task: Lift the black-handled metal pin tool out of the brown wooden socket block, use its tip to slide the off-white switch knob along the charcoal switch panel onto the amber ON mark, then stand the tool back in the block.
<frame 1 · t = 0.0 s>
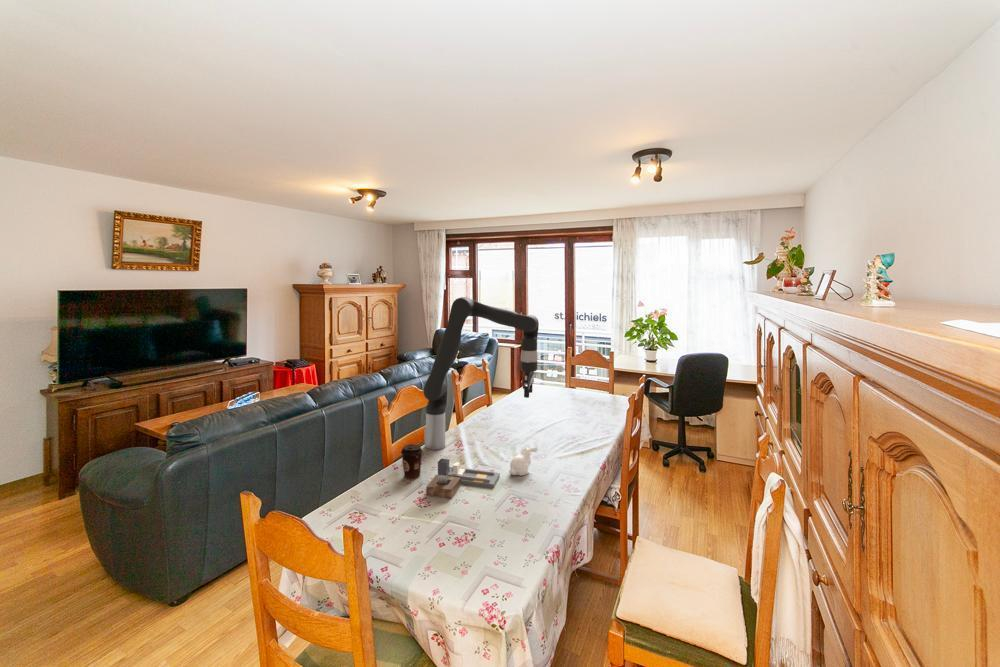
hand: (528, 394, 195), 29 cm above the table, fingers open, 8 cm apart
switch slider: (458, 469, 176), point 4 cm above the table, slide at 0.0 cm
rabbit: (522, 472, 183), on the table
pin tool: (443, 490, 165), resting on brown wooden socket block
brown wooden socket block: (443, 491, 165), on the table
coffee cup: (412, 477, 177), on the table
switch panel: (470, 480, 175), on the table
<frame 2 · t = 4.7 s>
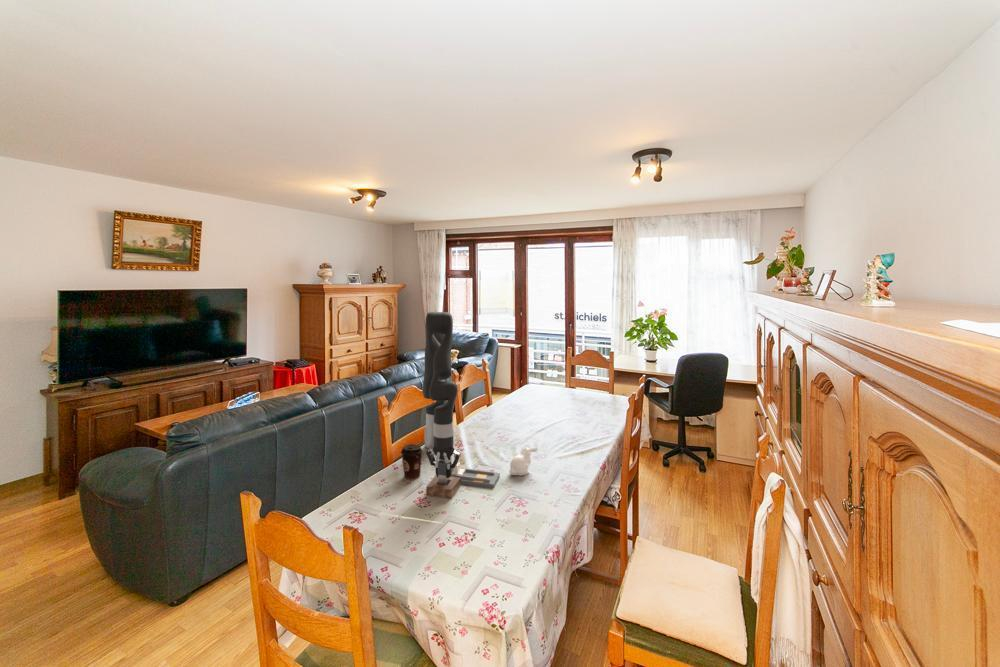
hand: (443, 476, 165), 6 cm above the table, fingers closed on pin tool, 3 cm apart
pin tool: (443, 490, 165), point 1 cm above the table, touching gripper, brown wooden socket block
everything else where it was.
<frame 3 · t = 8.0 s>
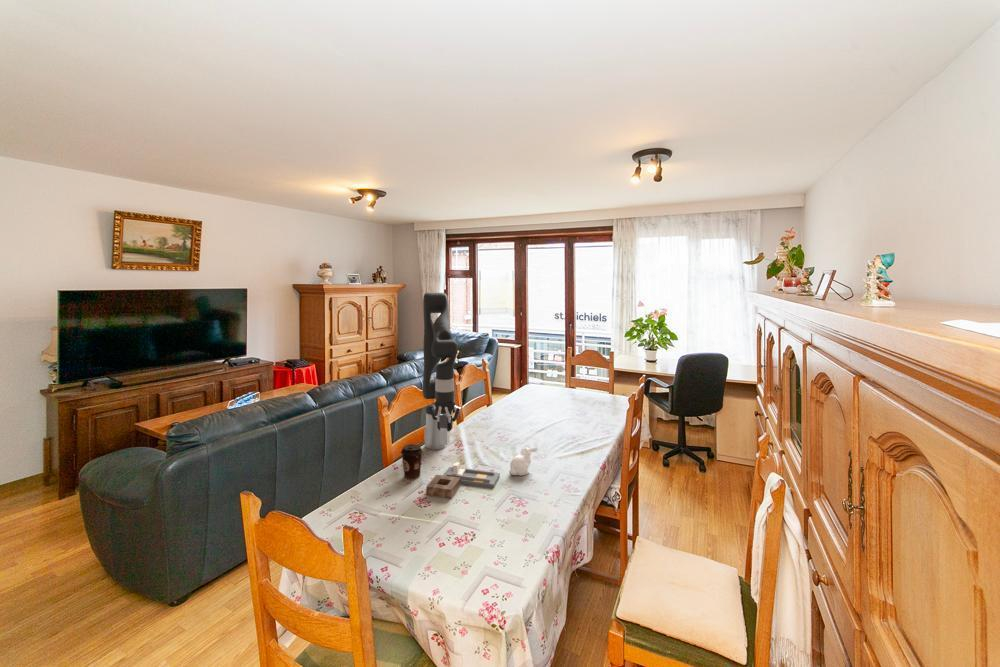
hand: (445, 430, 175), 20 cm above the table, fingers closed on pin tool, 3 cm apart
pin tool: (445, 443, 176), point 14 cm above the table, touching gripper
everything else where it was.
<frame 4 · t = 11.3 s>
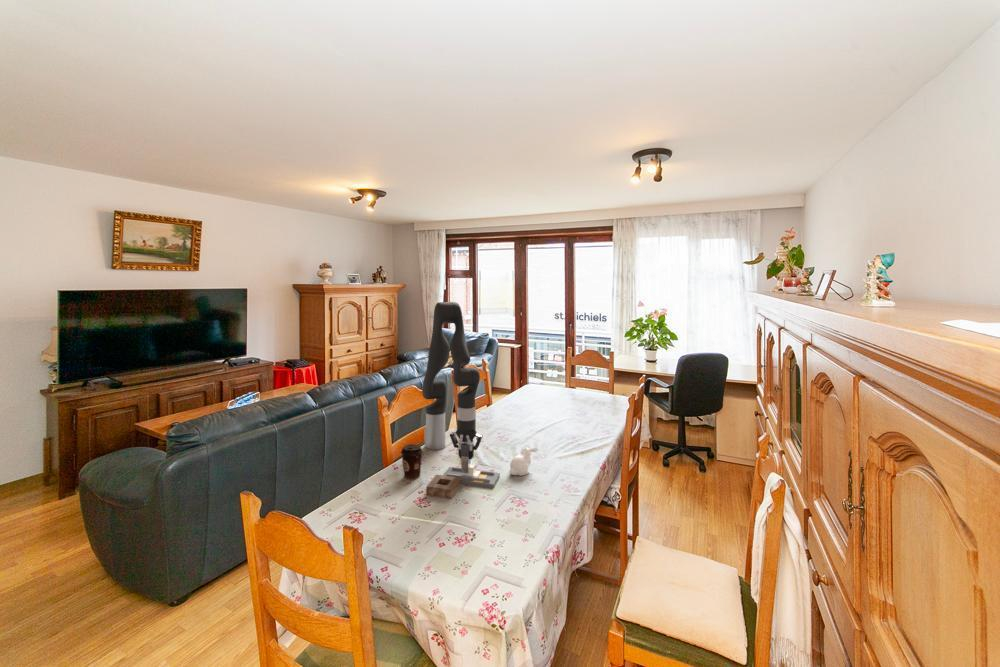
hand: (466, 458, 174), 9 cm above the table, fingers closed on pin tool, 3 cm apart
switch slider: (474, 470, 174), point 4 cm above the table, slide at 6.6 cm, touching pin tool
pin tool: (465, 471, 175), point 4 cm above the table, touching gripper, switch slider
everything else where it was.
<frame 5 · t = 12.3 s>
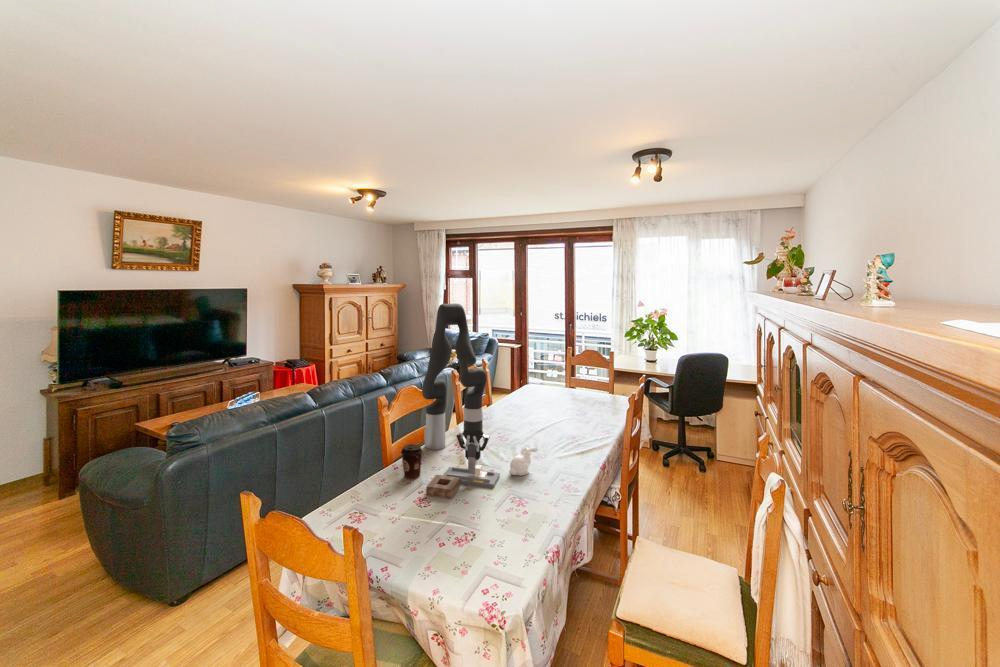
hand: (472, 458, 174), 9 cm above the table, fingers closed on pin tool, 3 cm apart
switch slider: (481, 471, 174), point 4 cm above the table, slide at 9.4 cm
pin tool: (472, 472, 175), point 3 cm above the table, touching gripper
everything else where it was.
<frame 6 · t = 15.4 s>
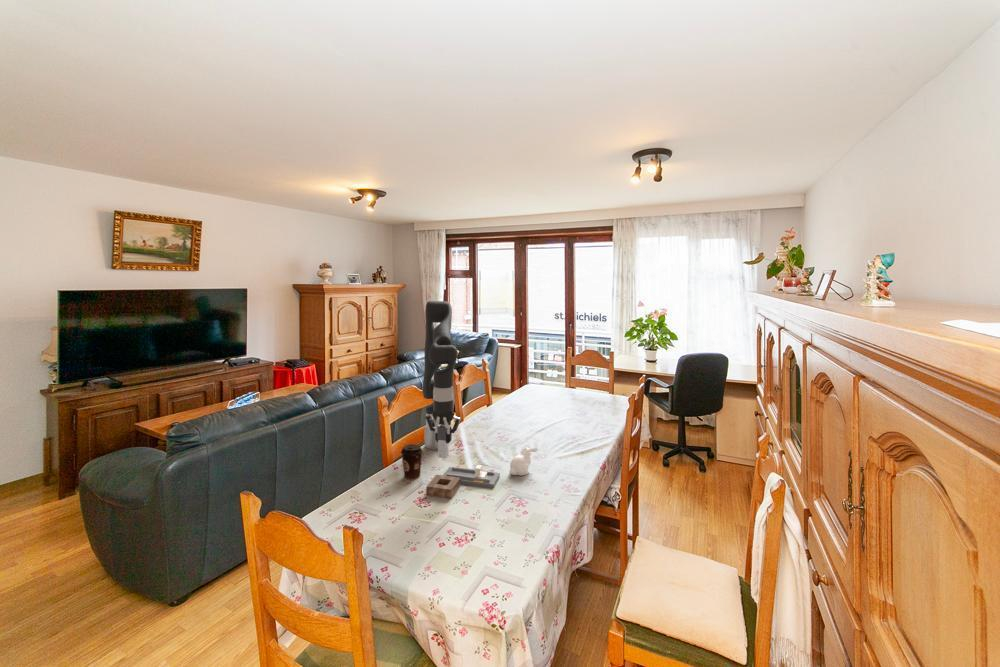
hand: (443, 441, 163), 20 cm above the table, fingers closed on pin tool, 3 cm apart
pin tool: (443, 456, 163), point 14 cm above the table, touching gripper
everything else where it was.
when the fingers open (8 cm above the table, at t = 18.4 s): pin tool drops 1 cm, resting on brown wooden socket block.
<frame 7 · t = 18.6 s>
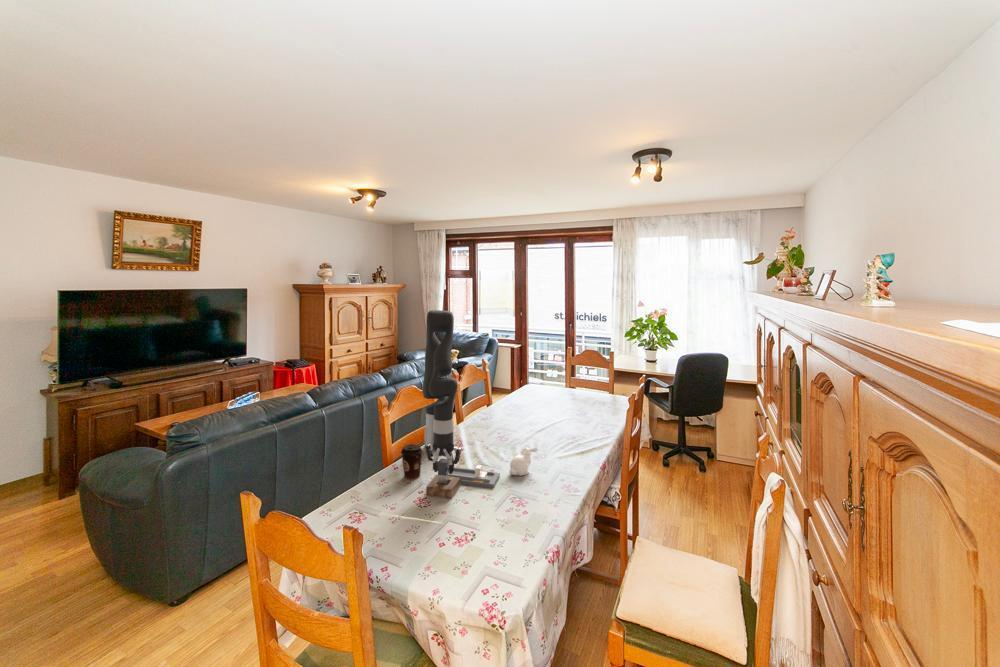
hand: (443, 472, 164), 8 cm above the table, fingers open, 5 cm apart
pin tool: (443, 490, 165), point 1 cm above the table, touching brown wooden socket block
everything else where it was.
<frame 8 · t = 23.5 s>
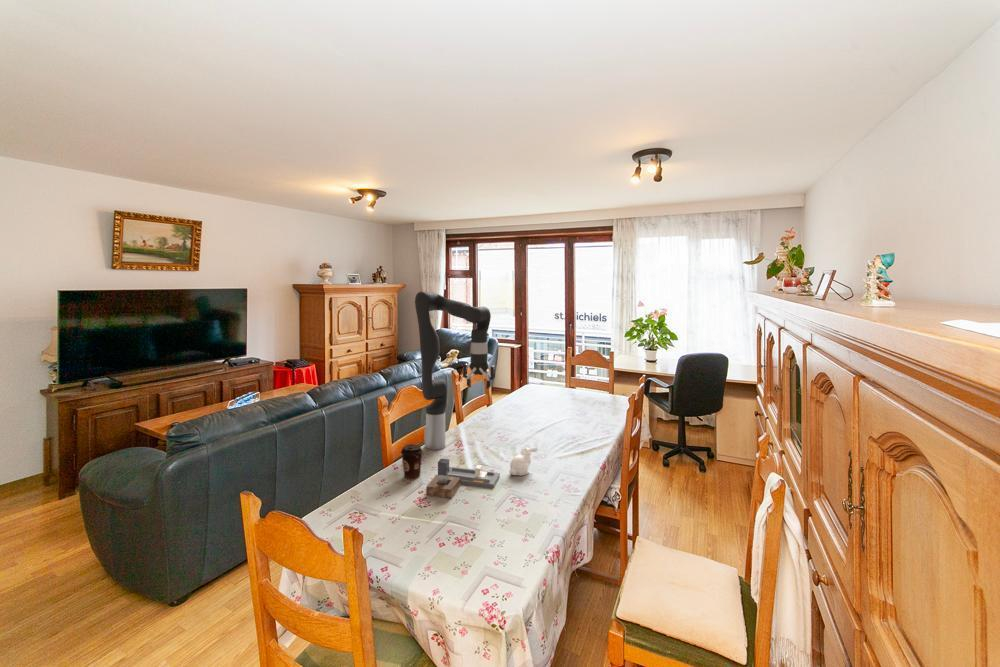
hand: (478, 387, 192), 33 cm above the table, fingers open, 8 cm apart
nothing on the table moved.
at the end: switch slider slide at 9.4 cm; pin tool 0.0 cm off-centre on the brown wooden socket block, point 0.5 cm above the brown wooden socket block's base; pin tool tilted 0° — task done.
